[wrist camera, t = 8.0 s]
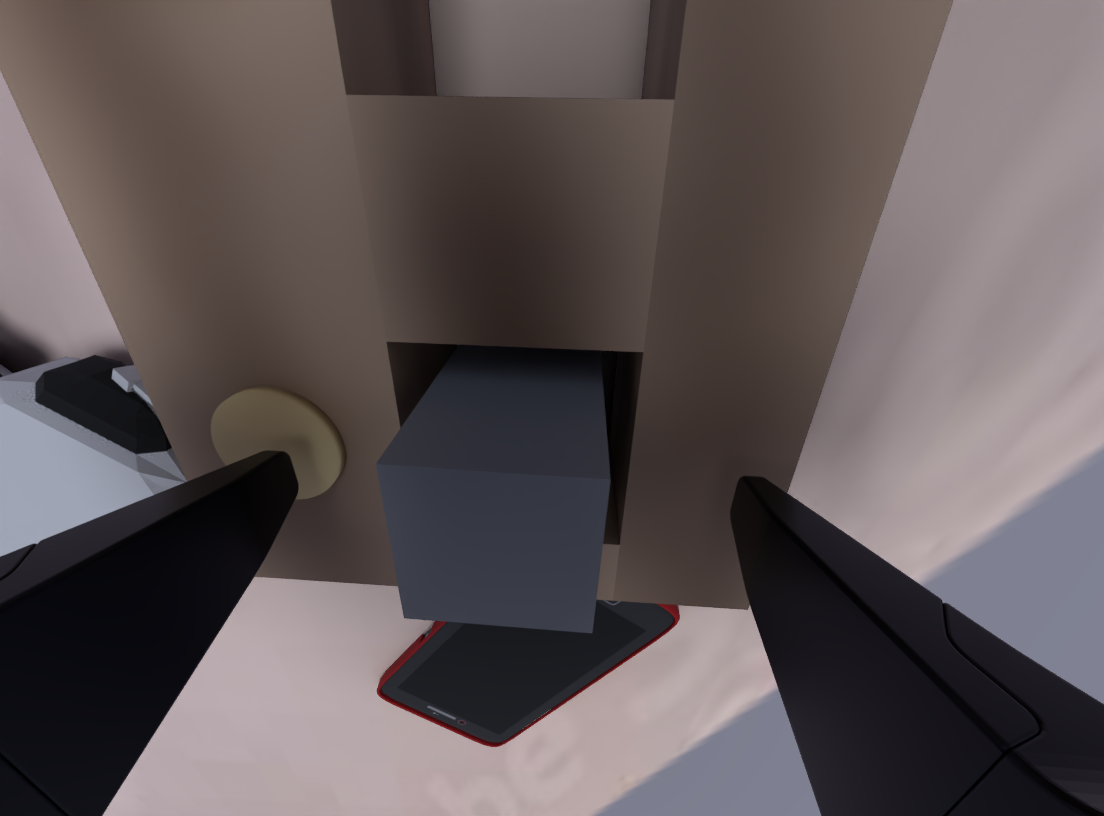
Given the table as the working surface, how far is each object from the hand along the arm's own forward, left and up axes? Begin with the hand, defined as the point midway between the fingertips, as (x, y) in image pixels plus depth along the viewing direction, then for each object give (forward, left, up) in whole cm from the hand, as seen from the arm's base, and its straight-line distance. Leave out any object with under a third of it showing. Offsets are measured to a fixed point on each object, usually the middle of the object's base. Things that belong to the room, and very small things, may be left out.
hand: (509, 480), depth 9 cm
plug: (0, 0, -6) cm, 6 cm away
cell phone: (+1, +15, -7) cm, 16 cm away
